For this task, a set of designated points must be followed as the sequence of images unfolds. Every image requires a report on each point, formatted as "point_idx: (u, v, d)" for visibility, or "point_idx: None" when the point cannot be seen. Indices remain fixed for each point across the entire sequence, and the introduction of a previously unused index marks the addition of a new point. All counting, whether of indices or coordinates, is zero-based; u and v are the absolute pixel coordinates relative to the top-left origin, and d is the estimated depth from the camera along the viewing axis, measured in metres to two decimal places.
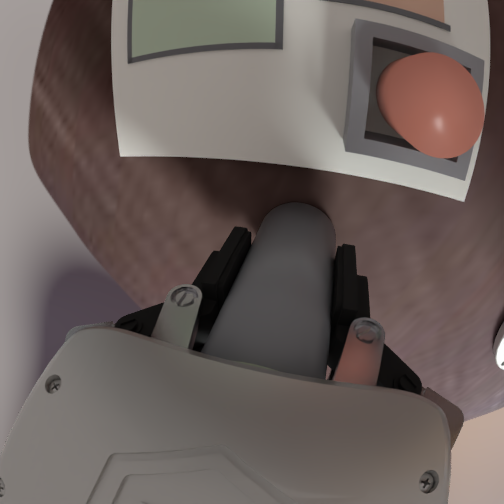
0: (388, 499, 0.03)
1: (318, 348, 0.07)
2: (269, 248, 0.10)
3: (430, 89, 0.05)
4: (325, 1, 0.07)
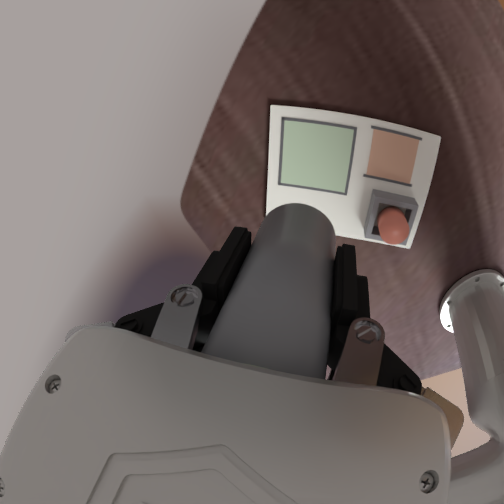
0: (388, 499, 0.03)
1: (318, 349, 0.07)
2: (269, 249, 0.10)
3: (392, 227, 0.25)
4: (365, 177, 0.27)
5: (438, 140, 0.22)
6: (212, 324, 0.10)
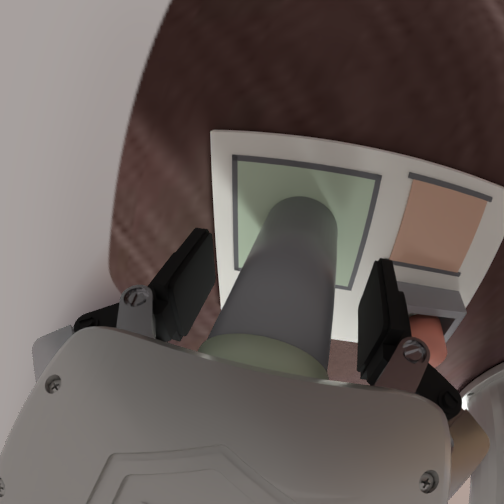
0: (388, 499, 0.03)
1: (322, 326, 0.08)
2: (275, 236, 0.11)
3: None
4: None
5: None
6: (165, 324, 0.09)
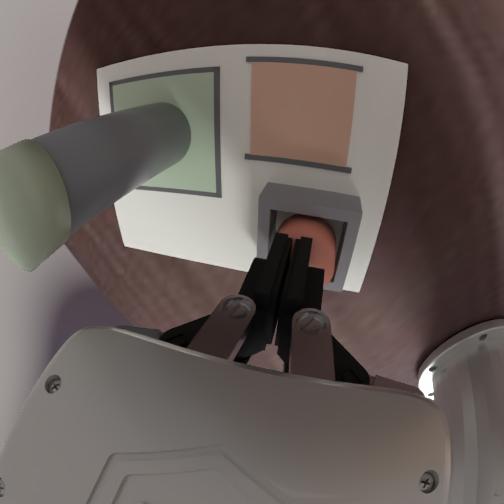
0: (388, 499, 0.03)
1: (77, 142, 0.07)
2: None
3: None
4: (249, 159, 0.14)
5: (402, 71, 0.09)
6: (262, 335, 0.09)
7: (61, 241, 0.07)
